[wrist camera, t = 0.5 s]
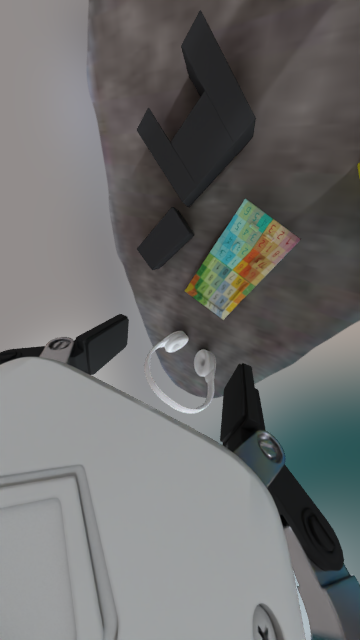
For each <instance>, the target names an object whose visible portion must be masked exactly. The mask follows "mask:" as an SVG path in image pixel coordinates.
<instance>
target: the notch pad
mask: <svg viewBox="0 0 360 640" xmlns="http://www.w3.org/2000/svg"><path fill="white" fill-rule="evenodd" d="M181 48H182V52H183V55H184V59H185V63H186V67H187V71H188V74H189V77H190V79H191V80H192V82H193V84H194V86H195V88H196V89H197V91H198V93H199V95H200V99H199V100H198V102H197V103H196V105H195V106H194V108H193V109H192V111H191V112H190V114H189V115H188V117H187V118H186V120H185V121H184V123H183V124H182V126H181V127H180V129H179V130H178V132H177V133H176V135H175V136H174V138H173V139H172V141H171V143H170V141H169V140H168V138H167V136H166V135H165V133H164V131H163V130H162V128H161V127H160V125H159V123H158V122H157V120H156V118H155V117H154V115H153V114H152V112H151V110H150V109H149V108H148V109H147V111H146V113H145V115H144V117H143V119H142V121H141V123H140V124H139V126H138V128H137V131H138V133H139V135H140V136H141V138H142V139H143V141H144V142H145V144H146V146H147V147H148V149H149V150H150V152H151V153H152V155H153V156H154V158H155V160H156V161H157V163H158V164H159V166H160V167H161V169H162V171H163V172H164V174H165V175H166V177H167V178H168V180H169V181H170V183H171V185H172V186H173V188H174V189H175V191H176V192H177V194H178V196H179V197H180V199H181V200H182V202H183V203H184V204H185V205H186V206H187V207H190V205H191V204H192V203H193V202H194V201H195V200H196V199H197V198H198V197H199V196H200V194H201V193H202V192H203V191H204V190H205V189H206V188H207V187H208V186H209V185H210V184H211V182H212V181H213V180H214V179H215V178H216V177H217V176H218V175H219V174H220V173H221V172H222V170H223V169H224V168H225V167H226V166H227V165H228V164H229V163H230V162H231V161H232V159H233V158H234V157H235V156H236V155H237V154H238V153H239V152H240V151H241V149H242V148H243V147H244V146H245V145H246V144H247V143H248V142H249V141H250V140H251V138H252V137H253V132H254V126H255V119H256V118H255V116H254V114H253V112H252V110H251V108H250V106H249V104H248V102H247V100H246V98H245V96H244V94H243V92H242V91H241V89H240V87H239V85H238V83H237V81H236V79H235V77H234V75H233V73H232V71H231V69H230V67H229V65H228V63H227V61H226V59H225V57H224V55H223V53H222V51H221V49H220V47H219V45H218V43H217V41H216V39H215V37H214V35H213V33H212V31H211V29H210V27H209V25H208V24H207V22H206V20H205V18H204V16H203V14H202V12H201V10H200V11H199V13H198V15H197V17H196V19H195V21H194V23H193V24H192V26H191V28H190V30H189V32H188V34H187V36H186V38H185V40H184V41H183V43H182V45H181Z"/></svg>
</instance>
